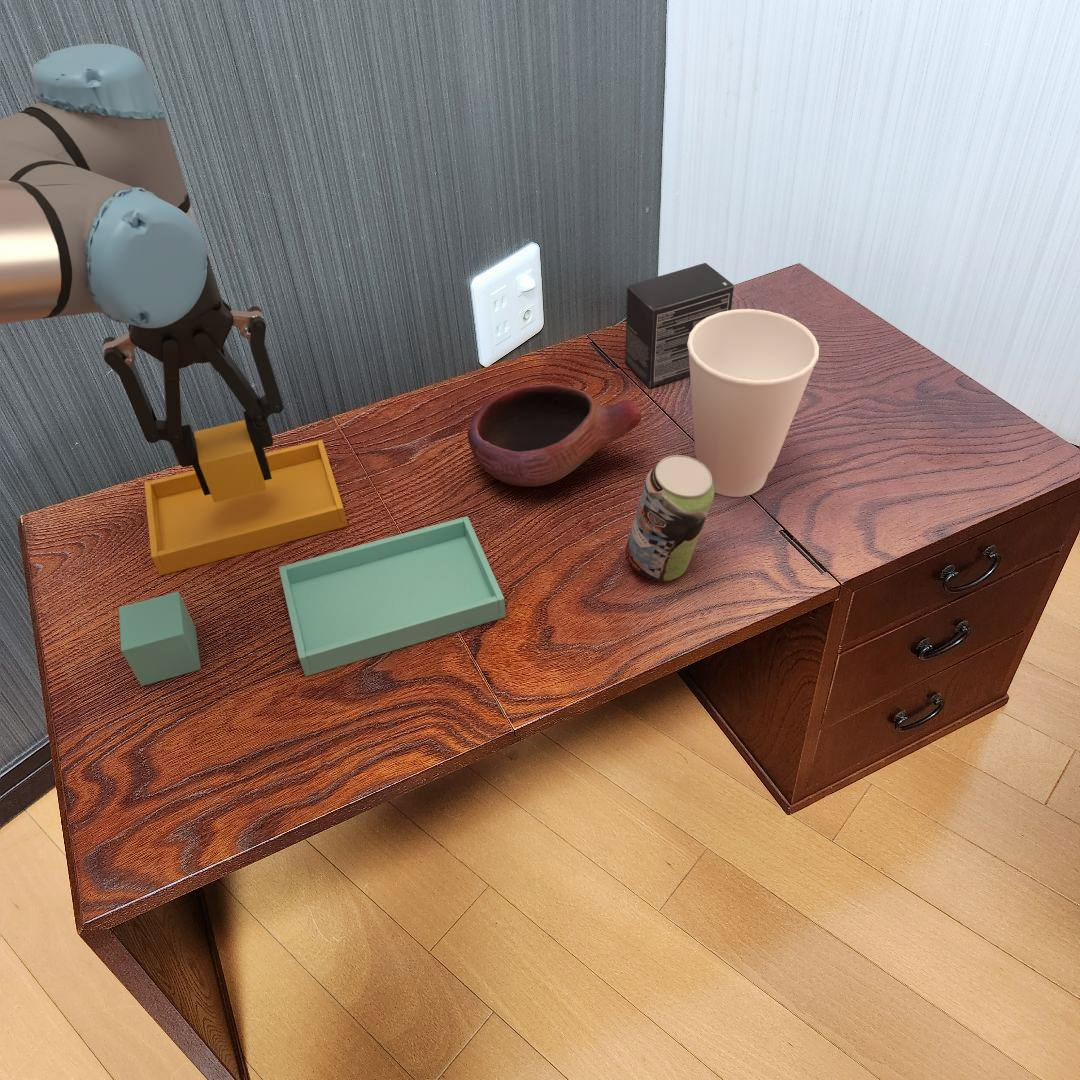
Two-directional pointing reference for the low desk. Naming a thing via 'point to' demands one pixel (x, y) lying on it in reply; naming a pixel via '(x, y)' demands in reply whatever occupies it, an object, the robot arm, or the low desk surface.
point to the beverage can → (669, 517)
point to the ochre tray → (243, 511)
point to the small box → (670, 320)
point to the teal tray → (389, 594)
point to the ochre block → (229, 461)
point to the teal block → (159, 638)
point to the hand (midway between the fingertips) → (236, 477)
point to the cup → (746, 392)
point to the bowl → (544, 432)
